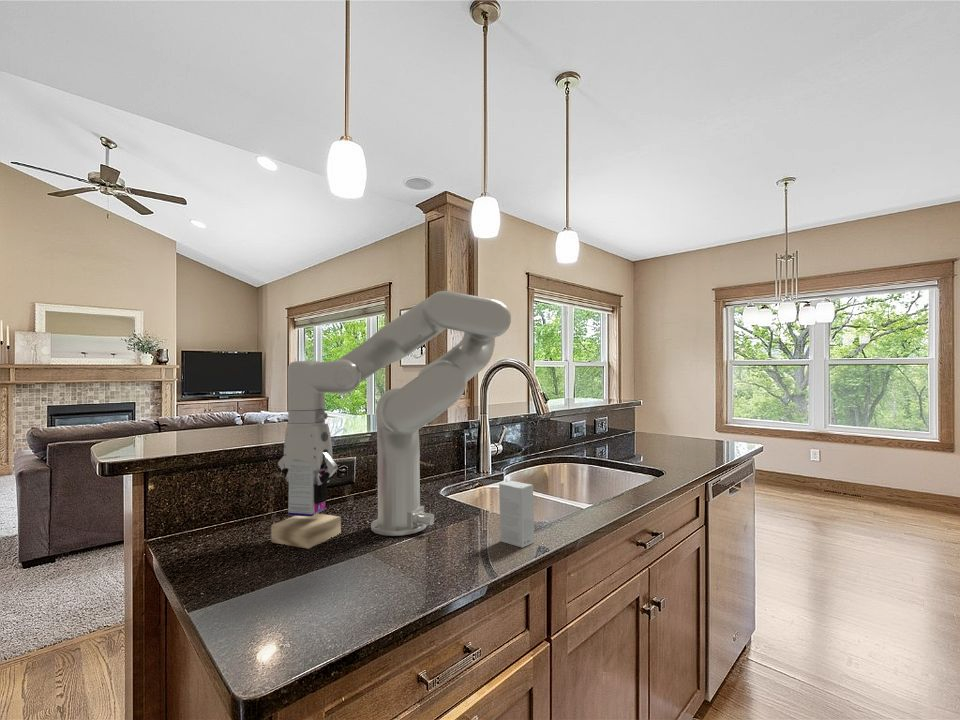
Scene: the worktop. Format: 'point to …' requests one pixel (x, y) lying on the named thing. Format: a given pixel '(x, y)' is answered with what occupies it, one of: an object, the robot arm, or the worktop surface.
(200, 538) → the worktop surface
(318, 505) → the supplement box
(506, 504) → the skincare box
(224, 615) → the worktop surface
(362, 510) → the worktop surface
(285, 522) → the oak block
